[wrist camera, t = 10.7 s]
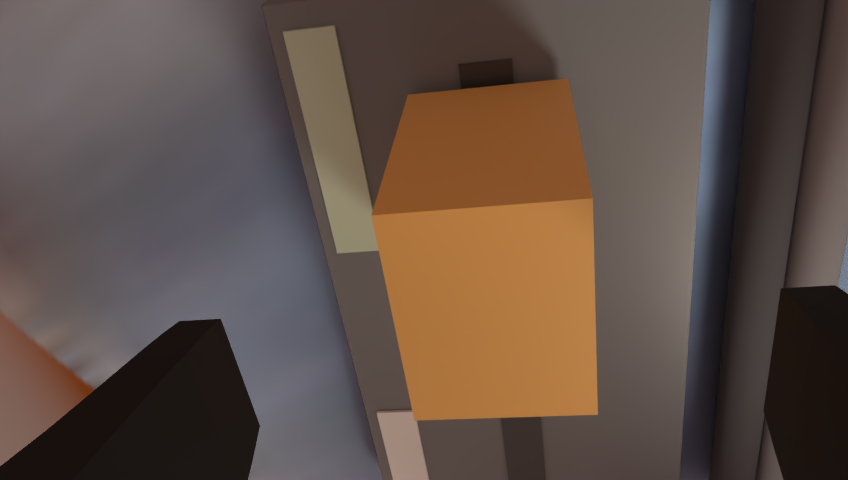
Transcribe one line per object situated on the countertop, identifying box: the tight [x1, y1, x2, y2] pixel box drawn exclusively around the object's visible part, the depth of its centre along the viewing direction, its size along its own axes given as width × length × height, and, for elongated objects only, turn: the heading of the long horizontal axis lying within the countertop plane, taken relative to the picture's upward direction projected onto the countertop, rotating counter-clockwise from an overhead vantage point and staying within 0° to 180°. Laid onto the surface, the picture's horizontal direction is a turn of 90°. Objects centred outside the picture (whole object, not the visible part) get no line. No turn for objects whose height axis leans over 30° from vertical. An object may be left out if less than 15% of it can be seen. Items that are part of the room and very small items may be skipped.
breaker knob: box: [371, 78, 598, 421], centre depth 13 cm, size 4×3×4 cm
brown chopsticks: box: [709, 0, 848, 480], centre depth 17 cm, size 16×2×1 cm, turn 8°
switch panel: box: [262, 0, 710, 480], centre depth 18 cm, size 16×8×2 cm, turn 8°
